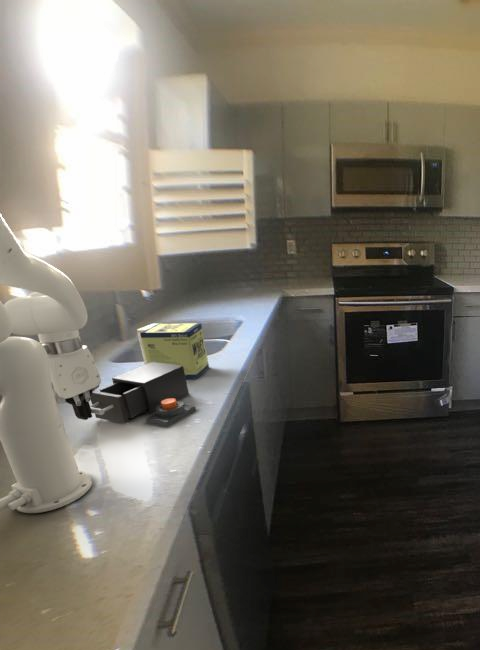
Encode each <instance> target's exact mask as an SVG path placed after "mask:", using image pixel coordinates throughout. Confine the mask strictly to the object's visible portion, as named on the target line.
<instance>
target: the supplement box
mask: <svg viewBox="0 0 480 650" xmlns="http://www.w3.org/2000/svg"><path fill="white" fill-rule="evenodd" d="M156 324H157V323H150V324H148V325H145V326H143V327H140V328H137V329H136V333H137V337H138V341H139V346H140V350H141V354H142V359H143V362H144V364H143V365H145V364H147V361H146V357H145V353H144V348H143V344H142V339H141V335H140V333H141V332H143V331H145V330H146V329H148V328H150V327H152V326H154V325H156Z"/></svg>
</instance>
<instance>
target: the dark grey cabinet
mask: <svg viewBox="0 0 480 650" xmlns="http://www.w3.org/2000/svg"><path fill="white" fill-rule="evenodd" d="M111 380H112V384H114V383H116V382H124V383H130V384H136V385H142V386H143V389H144V393H145V397H146V401H147V405H148V410H146V411H144V412H142V413H141V414H147V415H152V414H154V413H156V409H155V408H156V407H157V406H158V405H160V404H161V401H162V400H165V399H168V398H175V399H176V401H181V400H182V399H184V398H186V397H188V396H190V393H189V387H188V383H187V379H186V378H185V373H184V369H183V366H180V365H173V364H165V363H158V362H150V363H148V364H143V365H140V366H138V367H135V368H133V369H131V370H129V371H126V372H123V373H121V374H119V375H116V376H113V377H112V378H111Z"/></svg>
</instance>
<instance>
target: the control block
mask: <svg viewBox="0 0 480 650" xmlns="http://www.w3.org/2000/svg"><path fill="white" fill-rule="evenodd" d="M176 402H177V407H175V408H172V409H162V405H161V404H160V405H158V406H157V407H156V408H155V409H156V412H155V413H153V414H149V415H148V416H146V417H145V422H146V424H150V425H155V426H160V427H166V428H168V427H170V426H172V425H174V424H175V423H177V422H179V421H180V420H182V419H184V418H186V417H187V416H189V415H191V414H193V413H194V412H196V411H197V409H196V406H195V405H193V404H188V403H184V402H183V401H181V400H178V401H176Z"/></svg>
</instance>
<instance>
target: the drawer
mask: <svg viewBox="0 0 480 650" xmlns="http://www.w3.org/2000/svg"><path fill="white" fill-rule="evenodd" d="M90 398H91V400H90V402H91V404H89V405H90V408H91V414H93V415H95V418H96V419H100V420H106V421H109V422H114V423H120V424H125V425H126V424H128V423H129V422H130V420H129V418H130V419H132V418H134V417H136V416H139V415H140V414H143V413H142V412H144V411H146V410H148V405H147V401H146V397H145V393H144V389H143V386H142V385H136V384H130V383H124V382H116V383H114V384H113V383H112V384H108V385H107V386H105V387H102V388H100V389H99V390H94V391H93V392H92V394H91V396H90Z"/></svg>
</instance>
